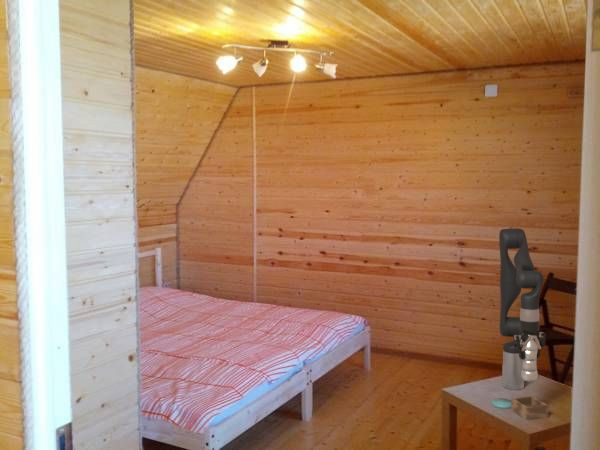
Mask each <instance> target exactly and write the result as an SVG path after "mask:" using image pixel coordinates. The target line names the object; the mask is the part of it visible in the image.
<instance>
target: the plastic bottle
mask: <svg viewBox="0 0 600 450" xmlns="http://www.w3.org/2000/svg"><path fill="white" fill-rule="evenodd" d="M528 336H531V339H530V340H529V342H528V345H527V346H526V347H525V349H524V351H525V359H524V360H523V365H522V371H521V377H522V379H523V380H524V382H527V383H528V382H529V383H535V382H536V381H537V380H538V378H539V375H538V374H539V373H538V367H537V366H538V365H537V364H538V363H537V360H538V358H537V352H538V345H537V343H536V342H535V341H534V335H528ZM523 343H525V342H523ZM522 346H523V345H522Z"/></svg>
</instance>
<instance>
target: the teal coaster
mask: <svg viewBox="0 0 600 450" xmlns="http://www.w3.org/2000/svg"><path fill="white" fill-rule="evenodd" d="M491 406H493V407H495V408H497V409H503V410H504V409H505V410H506V409H507V410H508V409H511V399H509V398H508V399H507V398H503V397H502V398H500V397H497V398H493V399H492V400H491Z"/></svg>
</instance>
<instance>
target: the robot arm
mask: <svg viewBox="0 0 600 450" xmlns="http://www.w3.org/2000/svg"><path fill="white" fill-rule="evenodd" d="M498 240H499V241H498V242H499V244H498V245H499V257H500V259H499V260H500V269H499V270H500V271H499V272H500V274H499V277H500V278H499V279H500V280H499V282H500V284H499V290H500V294H499V295H500V313H499V315H500V316H499V332H500V335H501V336H502V337H508V338H509V337H510V338H511V337H512V339H513V340H510V341H507V342H505V343H504V344H503V345H502V365H501V366H502V367H501V368H502V369H501V370H502V372H501V373H502V374H501V375H502V377H501V378H502V381H501V382H502V383H501V384H502V386H503V387H504V388H505V389H507V390H514V391H517V390H518V391H519V390H523V389H524V388H525V381H524V380H523V379H522V377H521V371H522V365H523V360H524V359H525V351H524V349H525V347H526V346H527V345H528V342H529V340H530V339H531V336H528V335H534V341H535V342H536V343H537V345H538V352H537V359H539V358H540V357H541V349H542V348H545V347H546V340H547V339H546V338H547V332H546V333H545V332H543V331H540V304H539V303H540V295H541V291H542V288H543V285H544V280H545V277H544V274H543V272H541V271H539V270H535V265H534V263H533V261H532V258H531V256H530V251H529V250H530V249H529V244H528V240H527V236H526V232H525V230H524V229H522V228H517V227H516V228H501V229H500V231H499V236H498ZM515 249H516V250H517V252H516V253H515V255H514V257H513V262H512V260H511V258H510V255H509V250H515ZM522 289H531V290H530V291H528V292H524V293H522V294H521V291H522ZM520 294H521V296H520V311H519V316H508V314H509V311H510V309H511V307H512V305H513V304H514V303H515V302H516V300H517V299H518V297H519V295H520ZM523 342H525V343H523ZM522 345H523V346H522Z"/></svg>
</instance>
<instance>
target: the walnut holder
mask: <svg viewBox="0 0 600 450" xmlns="http://www.w3.org/2000/svg"><path fill="white" fill-rule="evenodd" d="M510 400H511V408H510V410H511V411H512V412H513V413H515V414H517V415H518V416H520V417H521V418H523V419H524V420H525V421H530V420H537V419H538V420H539V419H545V418H549V405H548V404H547V403H545V402H543V401H542V400H539V399H538V398H536V397H534V396H532V395H530V396H523V397H515V398H511V399H510Z"/></svg>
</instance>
